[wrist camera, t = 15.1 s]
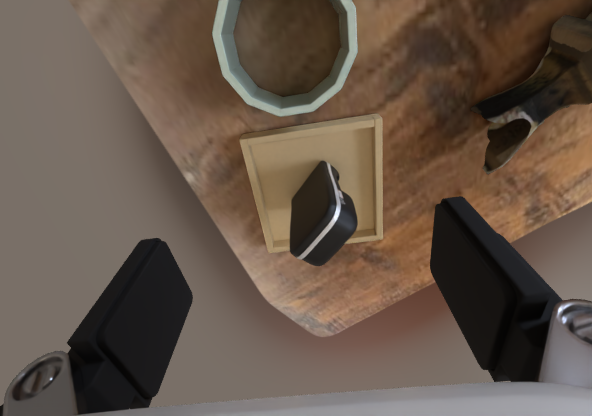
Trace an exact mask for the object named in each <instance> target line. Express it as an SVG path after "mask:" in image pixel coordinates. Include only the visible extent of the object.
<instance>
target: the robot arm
mask: <svg viewBox="0 0 592 416" xmlns="http://www.w3.org/2000/svg"><path fill="white" fill-rule="evenodd" d="M430 269H431V273H432V275H433V277H434V279H435V281H436V283H437V285H438V287H439V289H440V291H441V293H442V294H443V297H444V299H445V300H446V302H447V304H448V306H449V308H450V310H451V312H452V314H453V316H454V318H455V320H456V321H457V323H458V325H459V327H460V329H461V331H462V333H463V335H464V337H465V339H466V340H467V343H468V345H469V346H470V348H471V350H472V352H473V354H474V356H475V358H476V360H477V362H478V364H479V365H480V367H481V368H482V369H483V370H488V371H489V373H490V375H491V376H492V378H493V380H494V382H489V383H470V384H452V385H434V386H419V387H406V388H392V389H379V390H366V391H353V392H352V391H351V392H337V393H325V394H311V395H298V396H287V397H286V396H285V397H273V398H260V399H247V400H235V401H222V402H211V403H198V404H186V405H175V406H163V407H151V408H149V405H150V403H151V400H152V397H154V396H156V394H157V393H158V391H159V388H160V386H161V383H162V380H163V378H164V375H165V373H166V370H167V367H168V365H169V362H170V359H171V357H172V354H173V351H174V349H175V346H176V343H177V341H178V338H179V335H180V333H181V330H182V328H183V325H184V322H185V320H186V317H187V314H188V312H189V309H190V306H191V304H192V299H193V297H192V292H191V290H190V288H189V286H188V284H187V282H186V280H185V278H184V276H183V274H182V272H181V270H180V269H179V267H178V265H177V263H176V261H175V259H174V257H173V255H172V253H171V251H170V249H169V247H168V245H167V244H166V242H164V241H161V239H159V238H153V239H145V240H141V241H140V242H139V243H138V244H137V246H136V247H135V249H134V250H133V251H132V253H131V254H130V255H129V257H128V258H127V260H126V261H125V262H124V264H123V265H122V267H121V268H120V269H119V271H118V272H117V274H116V275H115V276H114V278H113V279H112V281H111V282H110V283H109V285H108V286H107V287H106V289H105V290H104V292H103V293H102V295H101V296H100V297H99V299H98V300H97V301H96V303H95V304H94V306H93V307H92V308H91V310H90V311H89V313H88V314H87V315H86V317H85V318H84V320H83V321H82V322H81V324H80V325H79V327H78V328H77V329H76V331H75V332H74V334H73V335H72V336H71V338H70V339H69V341H68V342H67V343H68V345H69V346H70V347H71V349H70V351H69V352H68V353H65V352H63V351H54V352H51V353H48V354H45V355H43V356H41V357H39V358H37V359H36V360H35V361H33V362H32V363H30V364H29V365H27V366H26V367H25V368H24V369H23V370H22V371H21V372H20V373H19V374H18V375H17V376H16V377H15V378H14V379H13V381H12V382H11V383H10V385H9V387H8V389H7V391H6V393H5V397H4V404H3V405H2V406H0V416H592V302H591V301H587V300H581V299H570V300H562V299H561V298H560V297H559V296H558V295H557V294H556V293H555V291H554V290H553V289H552V288H551V287H550V286H549V285H548V284H547V283H546V282H545V281H544V280H543V279H542V278H541V277H540V275H538V273H537V272H536V271H535V270H534V269H533V268H532V267H531V266H530V265H529V264H528V263H527V262H526V261H525V260H524V258H523V257H522V256H521V255H520V254H519V253H518V252H517V251H516V250H515V249H514V248H513V247H512V246H511V245H510V244H509V242H508V241H507V240H506V239H505V238H504V237H503V236H501V235H500V234H498V233H496V232H495V231H494V230H493V229H492V228H491V227H490V225H489V224H488V223H487V222H486V221H485V220H484V219H483V218H482V217H481V216H480V215H479V214H478V212H477V211H476V210H475V209H474V208H473V207H472V206H471V205H470V204H469V203H468V202H467V201H466V199H465V198H463V197H461V196H460V197H452V198H445V199H442V201H441V204H437V205H436V207H435V216H434V227H433V238H432V248H431V259H430ZM500 381H511V382H500ZM129 408H130V409H129Z"/></svg>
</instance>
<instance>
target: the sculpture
mask: <svg viewBox="0 0 592 416" xmlns="http://www.w3.org/2000/svg"><path fill="white" fill-rule="evenodd" d="M590 103H592V12H591V13H590V15H589V16H588V17H587V18H586V19H580V18H577V17H573V16H570V15H565V16H563V17H561V18H560V19H559V20H558V21H557V22H556V23H554V25H553V26H552V31H551V36H550V42H549V47H548V50H547V52H546V54H545V56H544V57H543V59H542V60H541V62H540V64H539V66H538V68H537V69H536V71H535V72H534V73H533V74H532V75H531V76H530V77H529V78H528V79H527V80H525V81H524V82H522V83H521V84H519V85H516V86H514V87H512V88H510V89H508V90H505V91H503V92H500V93H498V94H495V95H493V96H491V97H488V98H486V99H484V100H482V101H480V102H479V103H477V104H476V105H474V106H473V107H472V108H471V111H473V112H475V113H478V114H480V115H482V117H483V118H484V119H487V120H489V121H491V122H493V123H492V124H491V125H490V126H489V128H488V133H487V135H488V138H489V140H490V142H489V144H488V146H487V149H486V155H485V164H484V166H483V170H484V171H485V172H486V173H487V174H490V173H492V172H494V171H496V170H497V169H499V168H500V167H502V166H503V165H504V164H506V163H507V162H508V161H509V160H510V159H511V158H512V157H513V155H514V154H515V153H516V152H517V151H518V150H519V148H520V147H521V146H522V145H523V143H524V142H525V141H526V140H527V138H528V137H529V136H530V135H531V134H532V133H533V132H534V130H535V129H536V128H537V127H538V126H539V125H541V124H542V123H544V120H545V119H546V118H548V117H549V116H551V115H552V114H554V113H555V112H556V111H558V110H560V109H562V108H565V107H566V108H567V107H569V106H570V105H574V104H583V105H587V104H590Z"/></svg>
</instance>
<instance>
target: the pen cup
mask: <svg viewBox="0 0 592 416" xmlns="http://www.w3.org/2000/svg"><path fill="white" fill-rule="evenodd" d="M241 1H242V0H219V1H218V6H217V11H216V16H215V20H214V25H213V30H212V37H213V41H214V45H215V49H216V52H217V56H218V60H219V64H220V68H221V72H222V75H223V77H224V78H225V79H226V80H227V81H228V82H229V84H230V85H231V86H232V87H233V88H234V89H235V91H236V92H237V93H238V94H239V95H240V96H241V98H242V99H243V100H244V101H245V102H246V103H247V104H248V105H250V106H253V107H256V108H258V109H261V110H263V111H266V112H268V113H271V114H273V115H276V116H279V117H283V116H289V115H295V114H302V113H308V112H313V111H315V110H316V109H317V108H318V107H320V106H321V105H322V104H323V103H325V102H326V101H327V100H328V99H330V98H331V97H332V96H333V95H335V94H336V93H337V92H338V91H340V90H341V89H342V86H343V84H344V82H345V80H346V77H347V75H348V73H349V71H350V68H351V66H352V64H353V61H354V59H355V57H356V55H357V52H358V49H357V25H356V7H355V5H354V4H353V2H352V0H329V1H330V2H331V4H332V6H333V7H334V9H335V10H336V12H337V14H338V18H339V33H340V50H339V52H338V55H337V57H336V60H335V62H334V65H333V67H332V69H331V72H330V74H329V76H328V77H327V78H325V79H324V80H323V81H322V82H321V83H319V84H318V85H317V86H316V87H315V88H313V89H312V90H311V91H310V92H309V93H305V94H299V95H292V96H286V97H281V96H279V95H276V94H274V93H271V92H269V91H266V90H264V89H261V88H259V87H258V86H257V85H256V84H255V83H254V81H253V80H252V79H251V78H250V76H249V75H248V74H247V73H246V72H245V70H244V69H243V68H242V67H241V65H240V63H239V58H238V54H237V49H236V45H235V41H234V36H233V32H234V28H235V24H236V20H237V15H238V11H239V7H240V3H241Z"/></svg>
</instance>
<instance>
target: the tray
mask: <svg viewBox="0 0 592 416" xmlns="http://www.w3.org/2000/svg"><path fill="white" fill-rule="evenodd" d="M239 141H240V145H241V148H242V152H243V156H244V160H245V164H246V168H247V172H248V176H249V179H250V183H251V187H252V191H253V195H254V199H255V203H256V207H257V210H258V214H259V218H260V222H261V226H262V230H263V234H264V237H265V241H266V245H267V249H268V253H274V252H283V251H290V221H291V200H292V198H293V197H294V195H295V194H296V193H297V191H298V190H299V189H300V187H301V186H302V185H303V183H304V182H305V181H306V179H307V178H308V177H309V175H310V174H311V173H312V172H313V170H314V169H315V168H316V166H317V165H318V164H319V163H320V161H325V162H328V163H330V165H331V166H333V167H334V168H335V169H336V170H337V171H338V173H339V177H340V178H339V181H338V183H339V185H340V188H341V190H342V191H343V192H345V193H347V194H348V195H349V196H350V197H351V198H352V200H353V203H354V206H355V210H356V214H357V220H358V225H357V229H356V231H355V232H354V234H353V235H352V236H351V237H350V238H349V240H348V241H347V242H346V243H345V244H349V243H357V242H366V241H374V240H381V239H383V169H382V118H381V117H380V116H379V114H377V113H376V114H370V115H363V116H357V117H350V118H344V119H337V120H331V121H324V122H318V123H311V124H305V125H298V126H292V127H285V128H279V129H272V130H266V131H259V132H253V133H246V134H242V136H241V138H240V140H239Z"/></svg>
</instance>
